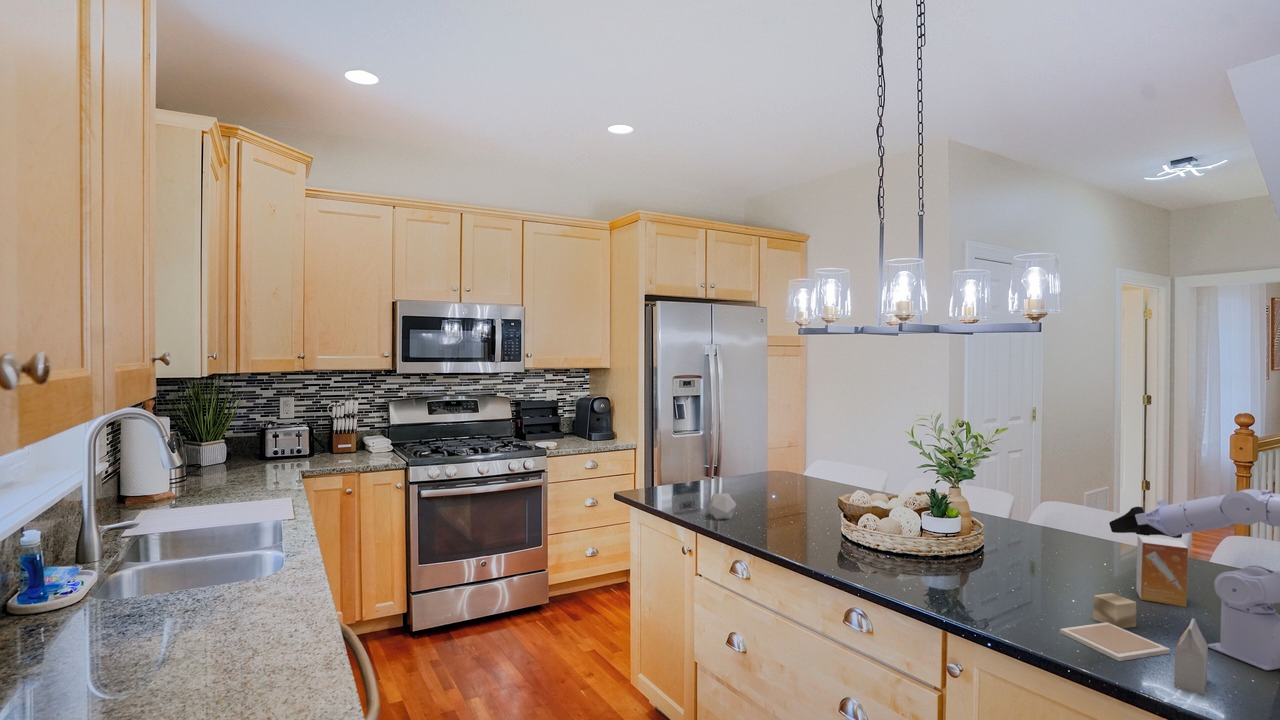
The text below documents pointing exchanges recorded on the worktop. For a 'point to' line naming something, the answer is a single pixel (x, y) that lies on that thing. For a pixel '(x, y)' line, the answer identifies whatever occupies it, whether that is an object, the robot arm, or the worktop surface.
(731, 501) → the die
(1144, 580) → the small box
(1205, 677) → the beige gable-top carton
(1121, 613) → the maple cube
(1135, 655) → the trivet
